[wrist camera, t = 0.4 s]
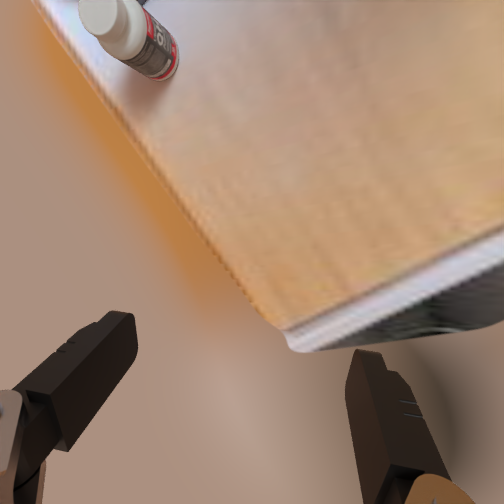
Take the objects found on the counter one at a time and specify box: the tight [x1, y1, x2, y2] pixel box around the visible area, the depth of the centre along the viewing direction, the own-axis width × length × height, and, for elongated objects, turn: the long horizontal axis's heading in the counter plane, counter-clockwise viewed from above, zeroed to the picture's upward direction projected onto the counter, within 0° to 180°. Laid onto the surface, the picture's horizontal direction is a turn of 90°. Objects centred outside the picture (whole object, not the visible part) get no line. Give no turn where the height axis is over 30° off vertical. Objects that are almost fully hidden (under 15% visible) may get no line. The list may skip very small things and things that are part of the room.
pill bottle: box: [78, 0, 179, 81], centre depth 28 cm, size 5×5×10 cm
